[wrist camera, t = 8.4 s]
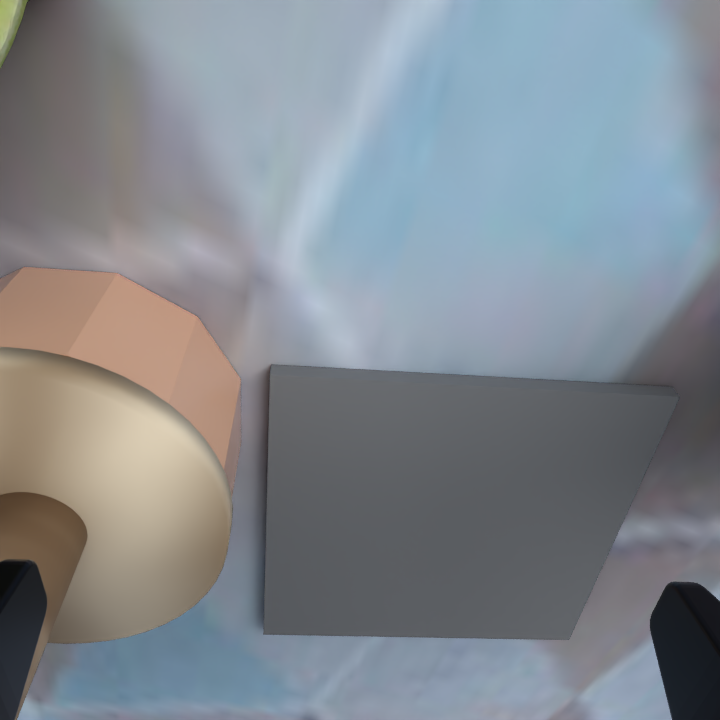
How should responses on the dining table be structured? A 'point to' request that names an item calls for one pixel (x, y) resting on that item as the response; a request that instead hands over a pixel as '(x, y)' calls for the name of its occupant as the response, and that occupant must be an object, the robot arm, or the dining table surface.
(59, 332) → the bowl
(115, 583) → the lid
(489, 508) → the mat
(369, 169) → the dining table surface
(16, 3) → the plant pot
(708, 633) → the robot arm
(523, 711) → the dining table surface
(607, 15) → the dining table surface
